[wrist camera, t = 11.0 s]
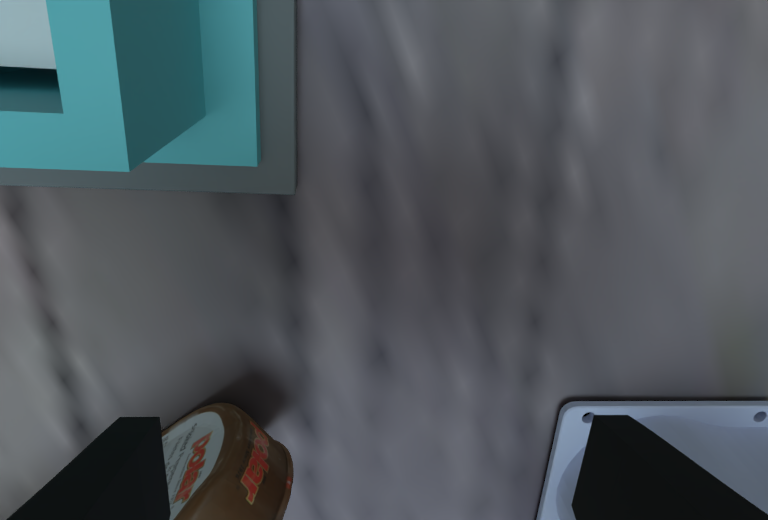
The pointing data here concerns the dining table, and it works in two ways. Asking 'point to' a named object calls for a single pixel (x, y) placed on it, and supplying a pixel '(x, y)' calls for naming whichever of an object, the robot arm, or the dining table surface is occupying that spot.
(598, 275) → the dining table surface
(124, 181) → the post block
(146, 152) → the flange
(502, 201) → the dining table surface
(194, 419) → the tin
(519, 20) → the dining table surface
